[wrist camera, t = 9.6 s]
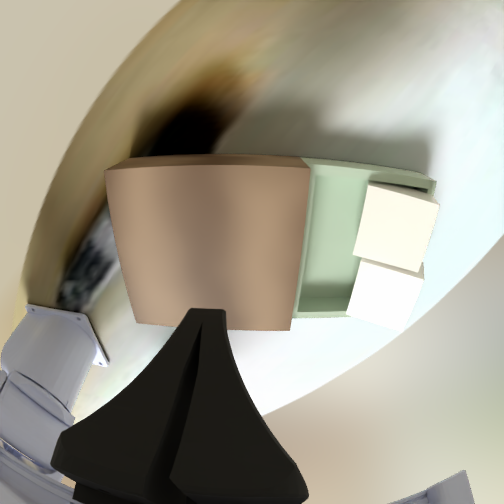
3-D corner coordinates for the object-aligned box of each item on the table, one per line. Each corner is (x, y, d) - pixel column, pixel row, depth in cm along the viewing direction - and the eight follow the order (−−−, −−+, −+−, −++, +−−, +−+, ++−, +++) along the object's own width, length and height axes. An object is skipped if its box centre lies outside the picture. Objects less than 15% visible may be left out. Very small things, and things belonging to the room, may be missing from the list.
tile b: (417, 272, 15) (414, 255, 17) (439, 205, 13) (432, 194, 15) (352, 254, 16) (355, 239, 18) (367, 185, 14) (368, 177, 16)
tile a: (402, 331, 17) (404, 311, 19) (424, 279, 15) (423, 262, 17) (346, 313, 19) (353, 295, 21) (360, 261, 17) (366, 245, 19)
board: (149, 294, 21) (136, 323, 18) (128, 158, 16) (104, 170, 13) (285, 299, 22) (289, 330, 19) (299, 156, 16) (310, 168, 13)
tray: (285, 299, 22) (287, 318, 20) (299, 156, 16) (306, 163, 14) (386, 297, 22) (395, 314, 20) (419, 172, 16) (436, 181, 14)
